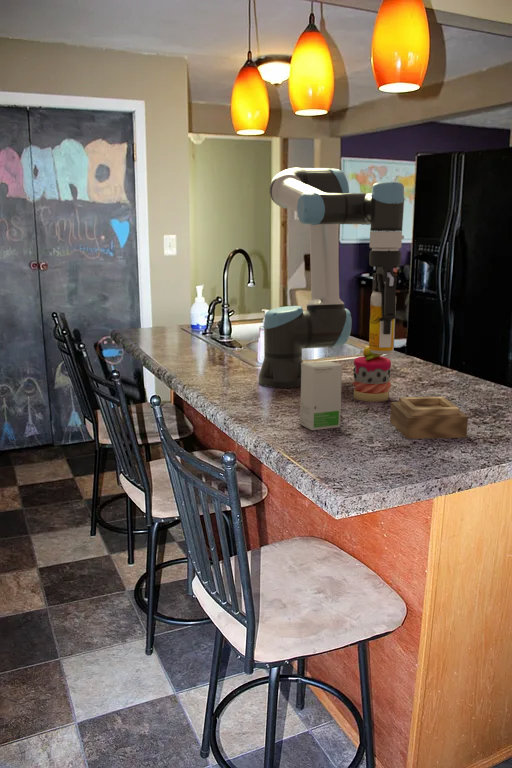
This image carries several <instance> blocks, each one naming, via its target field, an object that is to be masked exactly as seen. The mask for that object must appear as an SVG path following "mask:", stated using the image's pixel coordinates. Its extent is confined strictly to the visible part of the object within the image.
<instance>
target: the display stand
mask: <svg viewBox="0 0 512 768" xmlns="http://www.w3.org/2000/svg"><path fill="white" fill-rule="evenodd" d="M468 419H469V416H468V415H467V414H465V413H464V412H463V411H461V410H460V408H459V406H457V405H455V404H454V403H453V402H451V401H450V400H448V398H446V397H444V396H411V397H406V396H405V397H398V401H392V402H390V423H391V424H392V425H393V427H395V428H396V429H397V431H399V433H400V434H401V435H402V436H403V437H404V438H405V439H406V440H420V439H423V440H425V439H424V438H427V439H454V438H455V439H456V438H461V437H464V438H467V437H468V435H467V434H468V421H469V420H468ZM461 439H462V438H461Z"/></svg>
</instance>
